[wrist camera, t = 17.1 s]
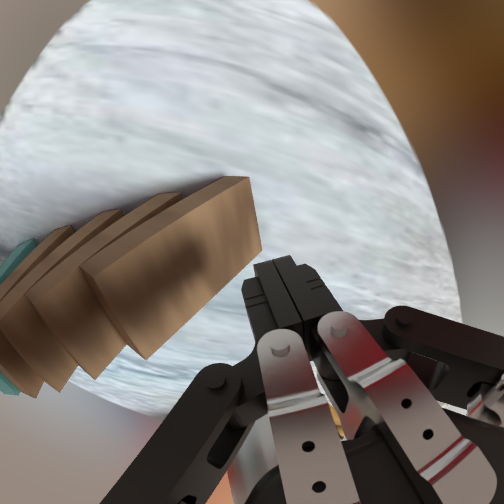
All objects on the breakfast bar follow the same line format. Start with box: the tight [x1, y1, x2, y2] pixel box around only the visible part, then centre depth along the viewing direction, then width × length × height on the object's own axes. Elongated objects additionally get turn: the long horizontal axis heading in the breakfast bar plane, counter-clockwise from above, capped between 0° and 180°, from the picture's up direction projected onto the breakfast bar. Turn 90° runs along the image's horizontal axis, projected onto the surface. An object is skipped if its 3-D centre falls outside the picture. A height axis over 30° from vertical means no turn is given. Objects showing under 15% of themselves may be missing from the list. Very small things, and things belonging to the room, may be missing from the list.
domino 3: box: [25, 193, 182, 380], centre depth 13 cm, size 5×2×10 cm
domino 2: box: [0, 209, 123, 392], centre depth 12 cm, size 5×2×10 cm, turn 10°
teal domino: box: [0, 239, 37, 395], centre depth 12 cm, size 5×2×10 cm, turn 10°
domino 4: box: [79, 176, 262, 360], centre depth 14 cm, size 5×2×10 cm
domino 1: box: [0, 225, 74, 398], centre depth 12 cm, size 5×2×10 cm, turn 10°
